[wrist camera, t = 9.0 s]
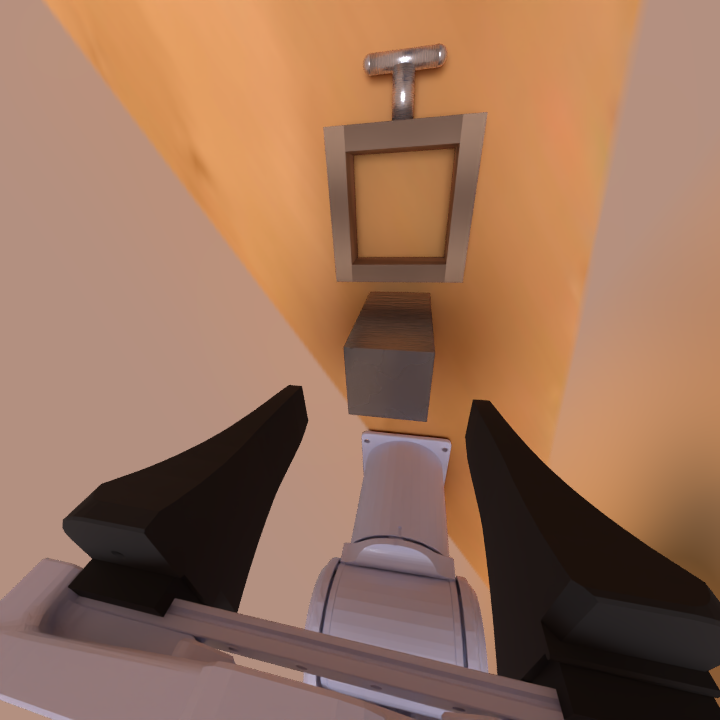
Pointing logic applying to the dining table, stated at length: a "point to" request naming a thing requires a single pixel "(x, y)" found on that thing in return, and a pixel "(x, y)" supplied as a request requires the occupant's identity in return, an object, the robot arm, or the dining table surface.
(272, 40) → the dining table surface
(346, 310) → the dining table surface
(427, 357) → the steel post
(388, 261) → the walnut clamp block
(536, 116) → the dining table surface
